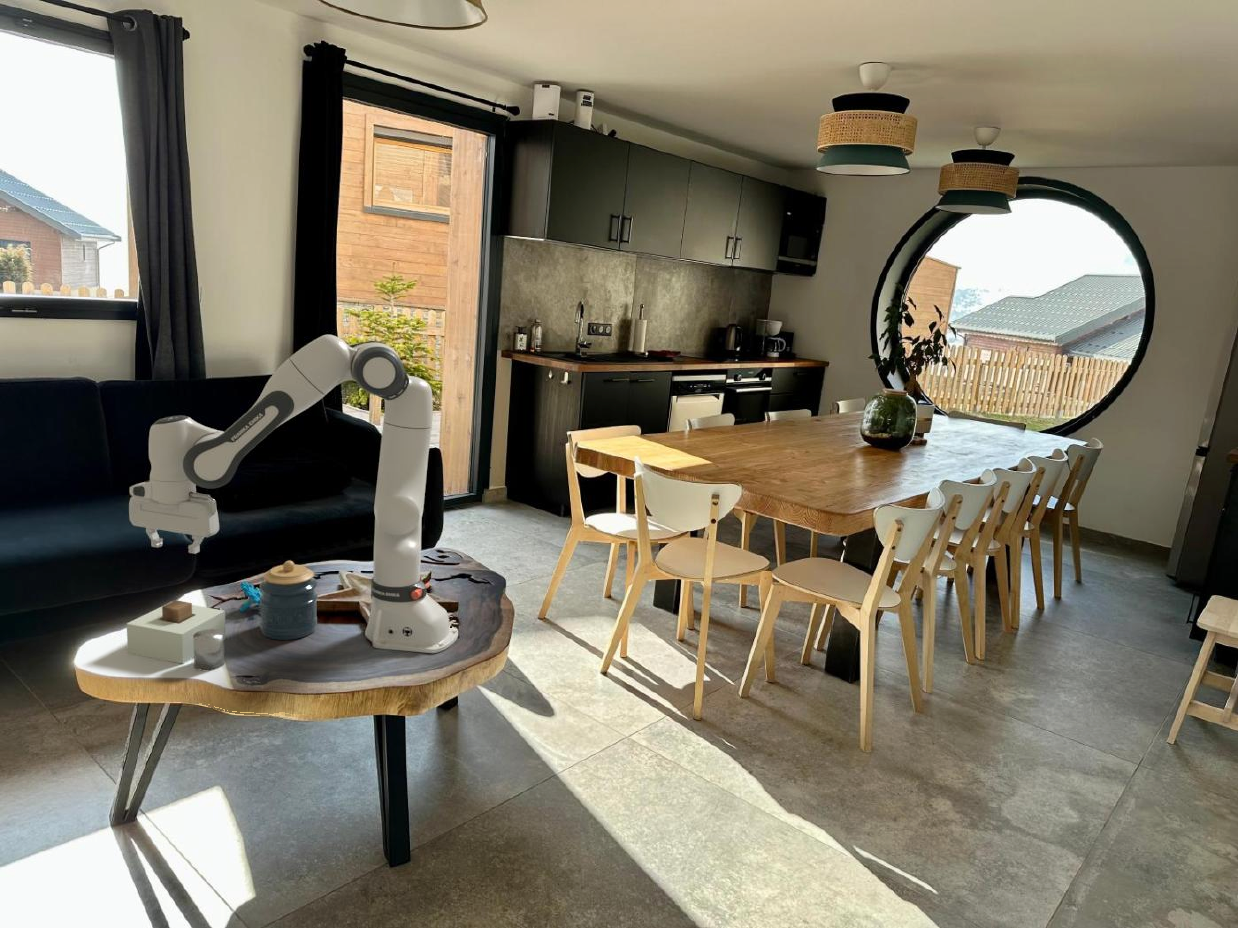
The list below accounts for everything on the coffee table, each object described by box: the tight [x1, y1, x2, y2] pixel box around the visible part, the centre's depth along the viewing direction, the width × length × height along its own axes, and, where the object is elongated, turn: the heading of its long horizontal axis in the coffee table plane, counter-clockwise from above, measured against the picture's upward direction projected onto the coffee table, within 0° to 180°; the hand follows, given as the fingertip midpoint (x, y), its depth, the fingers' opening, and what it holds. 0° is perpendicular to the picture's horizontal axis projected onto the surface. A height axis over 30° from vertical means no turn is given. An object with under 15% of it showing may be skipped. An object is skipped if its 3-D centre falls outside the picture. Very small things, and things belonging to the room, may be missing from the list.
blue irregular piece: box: [239, 581, 262, 613], centre depth 214 cm, size 11×6×10 cm
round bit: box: [193, 629, 225, 671], centre depth 184 cm, size 6×6×7 cm
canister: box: [259, 560, 318, 641], centre depth 203 cm, size 13×13×18 cm
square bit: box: [161, 599, 193, 624], centre depth 191 cm, size 4×4×10 cm
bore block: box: [126, 600, 226, 665], centre depth 191 cm, size 14×14×7 cm
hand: (175, 549), depth 187 cm, fingers open, 8 cm apart
